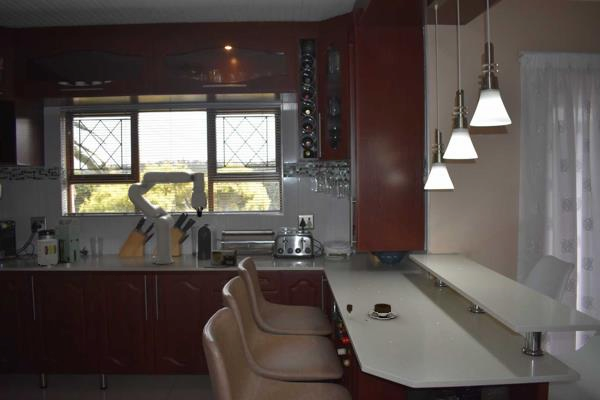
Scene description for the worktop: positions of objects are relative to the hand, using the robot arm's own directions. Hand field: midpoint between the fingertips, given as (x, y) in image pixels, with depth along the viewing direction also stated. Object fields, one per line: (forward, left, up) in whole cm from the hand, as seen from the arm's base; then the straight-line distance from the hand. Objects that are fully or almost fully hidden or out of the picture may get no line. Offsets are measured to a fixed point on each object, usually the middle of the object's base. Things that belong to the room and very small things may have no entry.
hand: (199, 217), depth 324 cm
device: (-95, -15, -31) cm, 101 cm away
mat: (+17, -7, -31) cm, 36 cm away
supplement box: (-99, -29, -31) cm, 108 cm away
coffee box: (+11, -6, -26) cm, 29 cm away
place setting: (+128, -94, -32) cm, 162 cm away
